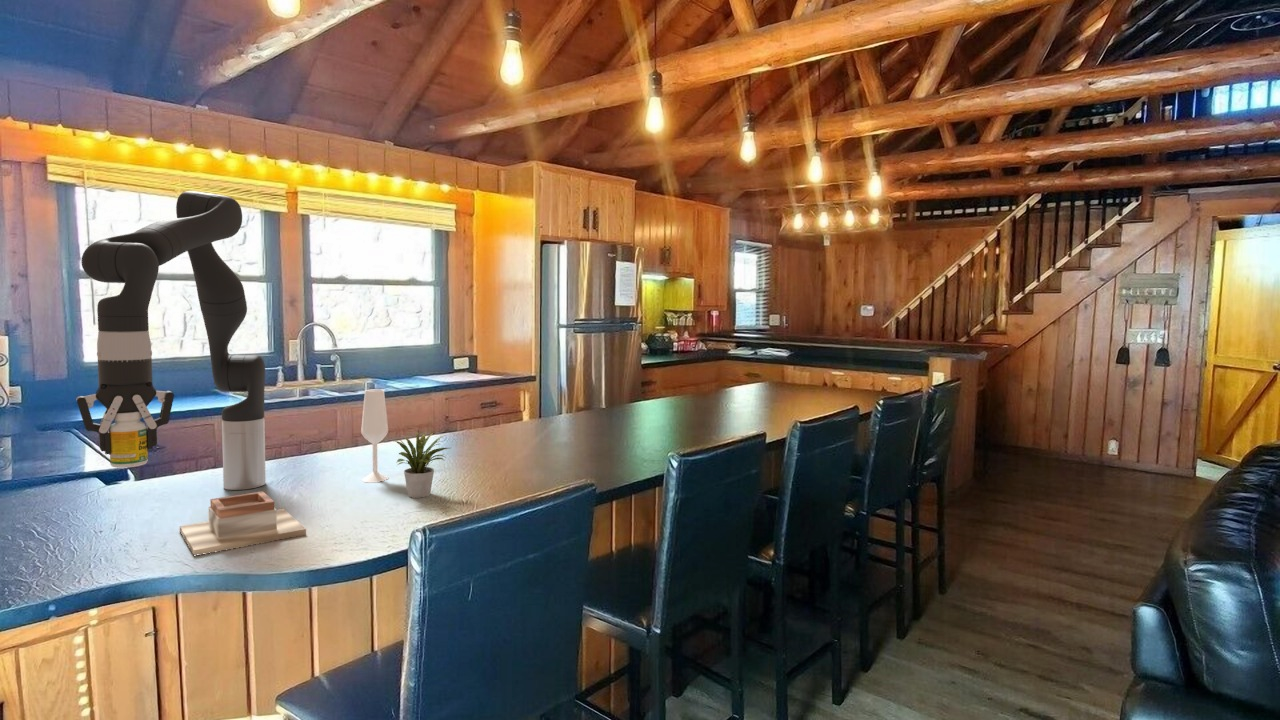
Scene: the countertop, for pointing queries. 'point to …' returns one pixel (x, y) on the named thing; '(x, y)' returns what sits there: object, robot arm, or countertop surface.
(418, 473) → the house plant
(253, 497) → the tower base
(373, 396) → the champagne flute
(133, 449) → the supplement bottle
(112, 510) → the countertop surface
